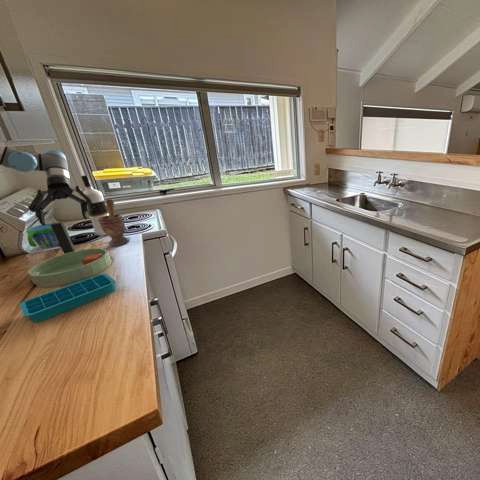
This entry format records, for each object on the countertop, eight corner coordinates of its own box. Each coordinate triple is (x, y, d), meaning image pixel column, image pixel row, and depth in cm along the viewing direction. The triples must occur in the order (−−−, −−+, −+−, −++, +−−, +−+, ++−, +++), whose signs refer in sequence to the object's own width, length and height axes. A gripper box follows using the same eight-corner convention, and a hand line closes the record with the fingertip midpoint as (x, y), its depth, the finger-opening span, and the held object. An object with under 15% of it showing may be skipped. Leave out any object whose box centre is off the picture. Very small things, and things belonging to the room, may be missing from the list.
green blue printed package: (46, 253, 113) (35, 232, 109) (23, 254, 114) (12, 233, 110) (77, 240, 128) (69, 220, 124) (57, 241, 128) (48, 221, 124)
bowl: (25, 296, 81) (17, 282, 79) (45, 269, 98) (39, 258, 96) (109, 275, 92) (103, 262, 90) (114, 254, 109) (110, 243, 107)
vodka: (119, 232, 136) (98, 174, 125) (97, 237, 130) (73, 177, 118) (115, 229, 142) (94, 173, 130) (94, 234, 136) (70, 176, 124)
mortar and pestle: (106, 242, 123) (90, 201, 116) (128, 237, 129) (114, 197, 121) (109, 248, 115) (92, 205, 108) (132, 242, 121) (117, 201, 113)
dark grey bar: (68, 262, 104) (50, 224, 98) (69, 259, 106) (52, 222, 100) (77, 259, 106) (60, 223, 99) (79, 257, 108) (62, 221, 102)
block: (86, 270, 94) (81, 260, 93) (92, 265, 98) (87, 255, 97) (100, 268, 96) (95, 258, 94) (105, 263, 99) (101, 253, 98)
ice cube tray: (120, 290, 82) (116, 282, 81) (30, 326, 67) (24, 317, 66) (108, 279, 88) (105, 272, 87) (24, 311, 74) (19, 302, 73)
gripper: (96, 182, 124) (104, 219, 118) (24, 189, 112) (28, 231, 106) (90, 172, 118) (98, 210, 112) (13, 178, 106) (17, 222, 100)
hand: (64, 220), depth 109 cm, fingers open, 13 cm apart
